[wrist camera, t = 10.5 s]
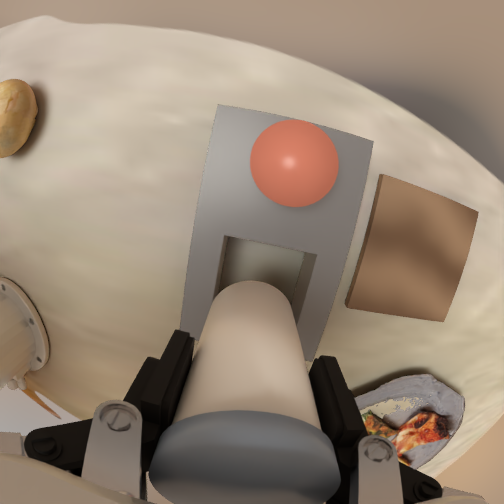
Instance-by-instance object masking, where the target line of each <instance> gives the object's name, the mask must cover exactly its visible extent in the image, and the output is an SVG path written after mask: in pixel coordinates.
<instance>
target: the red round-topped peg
mask: <svg viewBox="0 0 504 504" xmlns="http://www.w3.org/2000/svg"><path fill="white" fill-rule="evenodd" d="M338 168H339V161H338V155H337V151H336V149H335V146H334V144H333V142H332V141H331V139H330V138H329V136H328V135H327V134H326V133H325V132H324V131H323V130H321V129H320V128H319V127H317V126H315V125H313V124H311V123H309V122H306V121H302V120H284V121H280V122H277V123H275V124H273V125H271V126H269V127H268V128H266V129H265V130H264V131H263V132H262V133H261V134H260V135H259V137H258V138H257V139H256V141H255V143H254V145H253V147H252V151H251V156H250V169H251V173H252V177H253V179H254V182H255V183H256V185H257V187H258V188H259V189H260V191H261V192H262V193H263V194H264V195H265V196H266V197H268V198H269V199H270V200H272V201H274V202H276V203H278V204H280V205H284V206H289V207H303V206H307V205H310V204H313V203H315V202H317V201H319V200H320V199H322V198H323V197H324V196H325V195H326V194H327V193H328V192H329V191H330V190H331V188H332V187H333V185H334V183H335V181H336V178H337V174H338Z"/></svg>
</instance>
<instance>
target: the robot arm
mask: <svg viewBox="0 0 504 504" xmlns="http://www.w3.org/2000/svg"><path fill="white" fill-rule="evenodd" d="M194 340H195V338H194V337H190V333H189V332H185V331H181V330H177V329H176V330H175V331H174V333H173V335H172V337H171V339H170V341H169V343H168V345H167V347H166V349H165V351H164V353H163V355H162V357H161V359H160V360H159V359H155V358H152V357H147V359H146V360H145V362H144V364H143V366H142V367H141V369H140V371H139V373H138V374H137V376H136V378H135V380H134V382H133V383H132V385H131V387H130V389H129V391H128V392H127V394H126V396H125V398H124V400H123V401H121V400H110V401H106V402H104V403H102V404H100V405H99V406H98V407H97V408H96V410H95V413H94V416H93V418H92V419H88V420H83V421H78V422H73V423H68V424H63V425H57V426H51V427H45V428H39V429H35V430H33V431H31V432H30V433H29V434H28V435H27V436H21V434H20V433H11V432H0V504H154V503H151V502H147V472H148V471H149V468H150V465H151V462H152V459H153V456H154V453H155V450H156V447H157V444H158V441H159V438H160V436H161V435H162V433H163V432H164V431H165V430H166V429H167V428H168V427H169V426H171V425H172V422H173V419H174V415H175V412H176V409H177V406H178V403H179V400H180V397H181V394H182V391H183V388H184V385H185V382H186V379H187V376H188V373H189V370H190V367H191V364H192V356H193V348H194ZM48 357H49V344H48V338H47V335H46V331H45V328H44V326H43V323H42V321H41V319H40V317H39V315H38V313H37V311H36V309H35V307H34V306H33V304H32V303H31V301H30V300H29V298H28V297H27V296H26V294H25V293H24V292H23V291H22V290H21V289H20V288H19V287H18V286H17V285H16V284H15V283H13V282H12V281H10V280H8V279H7V278H3V277H0V390H1V389H2V388H3V387H4V386H5V385H6V384H7V385H8V387H9V388H10V389H12V390H15V389H17V388H18V387H19V388H20V389H21V390H25V389H26V388H27V384H26V381H25V378H24V374H25V373H26V372H27V371H28V370H31V371H36V370H39V369H41V368H42V367H43V366H44V365H45V364H46V362H47V360H48ZM308 375H309V379H310V383H311V387H312V391H313V396H314V400H315V404H316V408H317V413H318V417H319V421H320V425H321V430H322V432H323V433H325V434H326V435H327V436H328V438H329V439H330V441H331V443H332V445H333V448H334V452H335V456H336V460H337V464H338V468H339V472H340V477H341V482H340V486H339V488H338V490H337V491H336V493H335V494H334V495H333V496H332V497H331V498H330V499H329V500H327V501H326V502H324V503H323V504H489V503H487V502H486V501H485V499H484V498H483V497H482V496H480V495H477V494H473V493H468V492H464V491H460V490H456V489H452V488H448V487H443V488H441V486H440V484H439V483H438V482H437V481H436V480H435V479H433V478H432V477H430V476H427V475H425V474H423V473H421V472H419V471H417V470H415V469H413V468H411V467H409V466H407V465H405V464H403V463H401V462H400V461H398V455H397V450H396V447H395V446H394V444H393V443H392V442H391V441H390V440H388V439H387V438H385V437H383V436H378V435H369V434H368V432H367V429H366V427H365V424H364V422H363V419H362V416H361V414H360V411H359V409H358V406H357V404H356V401H355V399H354V396H353V394H352V392H351V390H349V389H348V387H347V384H346V382H345V379H344V377H343V374H342V372H341V370H340V367H339V365H338V362H337V360H336V358H335V357H331V356H322V355H321V356H320V357H319V359H317V358H316V359H315V360H314V362H313V364H312V367H311V369H310V372H309V374H308Z"/></svg>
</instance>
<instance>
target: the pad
mask: <svg viewBox="0 0 504 504" xmlns="http://www.w3.org/2000/svg"><path fill="white" fill-rule="evenodd" d="M478 213H479V212H477V211H475V210H473V209H471V208H469V207H466V206H464V205H462V204H460V203H457V202H455V201H453V200H450V199H448V198H446V197H443V196H441V195H438V194H436V193H433V192H431V191H428V190H426V189H423V188H420V187H418V186H415V185H412V184H410V183H407V182H404V181H401V180H398V179H396V178H393V177H390V176H387V175H384V174H380V175H379V180H378V184H377V189H376V194H375V198H374V202H373V207H372V211H371V215H370V219H369V223H368V227H367V231H366V234H365V238H364V242H363V246H362V249H361V253H360V256H359V260H358V263H357V266H356V270H355V273H354V276H353V279H352V283H351V286H350V289H349V292H348V295H347V298H346V301H345V305H346V307H347V308H351V309H357V310H364V311H370V312H376V313H383V314H389V315H396V316H403V317H410V318H417V319H424V320H431V321H439V322H444V320H445V318H446V315H447V313H448V310H449V308H450V305H451V303H452V300H453V298H454V295H455V292H456V290H457V287H458V284H459V281H460V278H461V275H462V272H463V269H464V266H465V263H466V259H467V256H468V253H469V249H470V246H471V242H472V238H473V234H474V230H475V226H476V222H477V218H478Z"/></svg>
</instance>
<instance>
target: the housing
mask: <svg viewBox="0 0 504 504" xmlns="http://www.w3.org/2000/svg"><path fill="white" fill-rule="evenodd" d="M284 120H298V119H294V118H289V117H285V116H280V115H276V114H271V113H266V112H261V111H255V110H250V109H244V108H238V107H232V106H225V105H218V106H217V111H216V115H215V119H214V124H213V128H212V133H211V137H210V142H209V147H208V152H207V156H206V161H205V166H204V171H203V177H202V182H201V187H200V193H199V198H198V204H197V209H196V215H195V221H194V227H193V233H192V240H191V246H190V253H189V260H188V267H187V274H186V281H185V289H184V297H183V305H182V314H181V323H180V330H181V331H185V332H189V333H190V337H194V338H195V340H196V341H199V340H200V337H201V334H202V331H203V328H204V325H205V322H206V319H207V316H208V314H209V311H210V308H211V305H212V303H213V301H214V299H215V298H216V296H217V295H218V291H219V286H220V280H221V275H222V269H223V264H224V258H225V253H226V248H227V242H228V237H229V236H231V237H236V238H241V239H245V240H250V241H255V242H260V243H265V244H269V245H274V246H279V247H284V248H288V249H293V250H298V251H303V252H305V254H304V258H303V262H302V266H301V270H300V273H299V277H298V281H297V285H296V288H295V292H294V296H293V299H292V303H291V308H292V312H293V316H294V319H295V323H296V327H297V331H298V335H299V339H300V343H301V347H302V351H303V355H304V359H305V361H313V358H314V356H315V353H316V350H317V348H318V345H319V342H320V339H321V337H322V334H323V331H324V328H325V325H326V322H327V320H328V317H329V314H330V311H331V308H332V305H333V302H334V298H335V295H336V292H337V289H338V286H339V283H340V279H341V276H342V273H343V269H344V266H345V262H346V259H347V255H348V252H349V248H350V244H351V241H352V237H353V233H354V229H355V225H356V222H357V218H358V213H359V209H360V205H361V201H362V196H363V192H364V188H365V183H366V178H367V173H368V169H369V164H370V158H371V153H372V148H373V142H374V141H371V140H368V139H365V138H362V137H359V136H356V135H353V134H349V133H346V132H343V131H339V130H336V129H332V128H329V127H325V126H322V125H318V124H314V123H311V124H313V125H315V126H317V127H319V128H320V129H321V130H323V131H324V132H325V133H326V134H327V135H328V136H329V138H330V139H331V141H332V142H333V144H334V146H335V149H336V151H337V155H338V161H339V168H338V174H337V178H336V181H335V183H334V185H333V187H332V188H331V190H330V191H329V192H328V193H327V194H326V195H325V196H324V197H323V198H322V199H320V200H319V201H317V202H315V203H313V204H310V205H307V206H303V207H289V206H284V205H280V204H278V203H276V202H274V201H272V200H270V199H269V198H268V197H266V196H265V195H264V194H263V193H262V192H261V191H260V189H259V188H258V187H257V185H256V183H255V182H254V179H253V177H252V173H251V169H250V156H251V151H252V147H253V145H254V143H255V141H256V139H257V138H258V137H259V135H260V134H261V133H262V132H263V131H264V130H265V129H266V128H268V127H269V126H271V125H273V124H275V123H277V122H280V121H284ZM309 123H310V122H309Z"/></svg>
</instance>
